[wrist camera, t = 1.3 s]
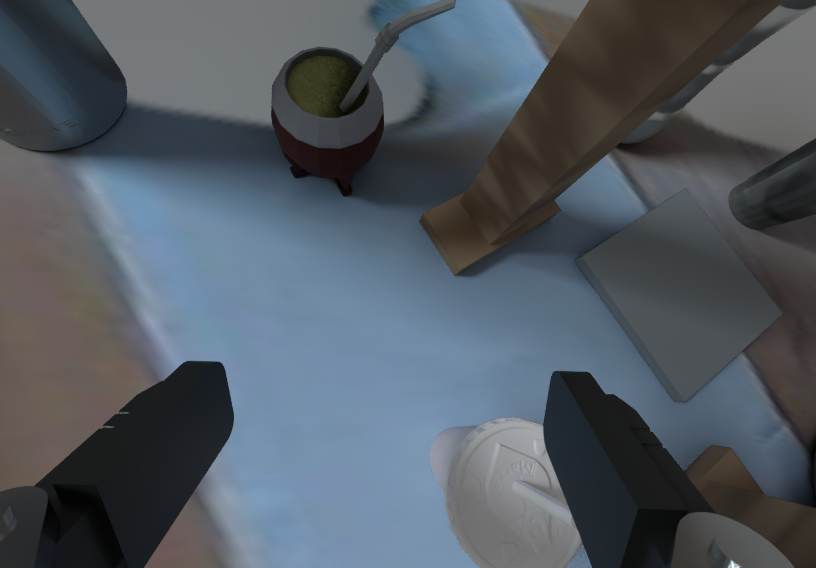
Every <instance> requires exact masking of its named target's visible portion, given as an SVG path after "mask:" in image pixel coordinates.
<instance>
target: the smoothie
mask: <svg viewBox="0 0 816 568" xmlns="http://www.w3.org/2000/svg"><path fill="white" fill-rule="evenodd" d="M430 465H431V468H432V471H433V473H434V475H435V477H436V480H437V482H438V484H439V486H440V489H441V491H442V493H443V495H444V498H445V510H446V514H447V517H448V521H449V525H450V528H451V531H452V533H453V534H454V536H455V538H456V540H457V542H458V543H459V545H460V547H461V549H462V550H463V551H464V552H465V553H466V554H467V555H468V556H469V557H470V558H471V559H472V560H473V561H474V562H475V563H476V564H477V565H478V566H479V567H480V568H565V567H566V566H567V565H568V564H569V562H570V561H571V560H572V559H573V557H574V556H575V555H576V553H577V551H578V550H579V548H580V546H581V544H582V540H581V537H580V535H579V532H578V530H577V527H576V525H575V522H574V520H573V517H572V515H571V512H570V509H569V507H568V504H567V502H566V499H565V497H564V494H563V492H562V489H561V487H560V484H559V481H558V479H557V476H556V474H555V471H554V469H553V466H552V464H551V461H550V459H549V456H548V453H547V451H546V447H545V443H544V435H543V426H542V425H540V424H537V423H534V422H532V421H528V420H524V419H520V418H517V417H514V418H498V419H495V420H492V421H489V422H486V423H483V424H482V425H480V426H470V427H455V428H449V429H446V430H444V431H443V432H441V433H440V434H439V435H438V436H437V437H436V438H435V440H434V442H433V444H432V446H431V449H430Z"/></svg>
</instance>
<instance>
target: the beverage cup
mask: <svg viewBox="0 0 816 568" xmlns="http://www.w3.org/2000/svg"><path fill="white" fill-rule="evenodd" d="M729 205H730V208H731V210H732V213H733V214H734V216H735V217H736V218H737V220H738V221H739V222H741V223H742V224H743V225H745V226H747V227H749V228H751V229H763V228H765V227H768V226H773V225H777V224H783V223H786V222H790V221H793V220H797V219H800V218H804V217H807V216H811V215H814V214H816V138H815V139H814V140H812V141H810V142H809V143H807V144H805V145H804V146H802V147H800V148H799V149H797V150H795V151H794V152H792V153H790V154H789V155H787V156H785V157H784V158H782V159H780V160H779V161H777V162H775V163H774V164H772V165H770V166H769V167H767V168H765V169H764V170H762V171H760V172H759V173H757V174H755V175H754V176H752V177H750V178H749V179H748V180H747V181H745V182H744V183H742V184H741V185H739V186H737V187H735V188H734V189H732V191H731V193H730V195H729Z"/></svg>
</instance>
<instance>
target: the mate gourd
mask: <svg viewBox="0 0 816 568" xmlns="http://www.w3.org/2000/svg"><path fill="white" fill-rule="evenodd" d="M455 1H456V0H441V1H438V2H435V3H432V4H429V5H426V6H423V7H420V8H417V9H414V10H411V11H409V12H408V13H406V14H404V15H403V16H401V17H399V18H397V19H396V20H395V21H394V22H393V23H392V24H390V23H388V24H387V25H386V26H385V27H384V28H383V29H382V31H381V32H380V33H379V35H378V36H377V38H376V39H375V42H376V45H375V47H374V48H373V50H372V52H371V54H370V55H369V57H368V59H367V61H366V63H365V64H364V65H363V64H362V63H361V62H360V61H359V60H357V59H356V58H355V57H354V56H353V55H350V54H348V53H346V52H343V51H341V50H339V49H335V48H326V47H316V48H311V49H307V50H303V51H301V52H299V53H298V54H296V55H295V56H294V57H292V58H291V59H289V60H288V61H287V62H286V63H285V64H284V65H283V67H282V69H281V71H280V73H279V74H278V76H277V78H276V79H275V81H274V83H273V85H272V110H271V117H272V124H273V127H274V130H275V133H276V135H277V138H278V141H279V144H280V146H281V149H282V152H283V154H284V156H285V157H286V159H287V160H288V161H289V162H290V163H291V165H292V167H290V169H291V172H292V174H293V175H294V177H295V178H298V177H302V176H305V175H308V174H311V173H312V174H315V175H317V176H320V177H323V178H334V180H335V182H336V184H337V186H338V188H339V190H340V192H341V194H342V195H343V196H348V195H351V193H352V189H351V186H350V183H351V181H352V179H353V176H354V174H355V173H356V172H357V171H359V170H360V169H361V168H362V167H363V166H364V165H365V164H366V163H367V162H368V161H369V160H370V159H371V157H372V156H373V154H374V152H375V150H376V148H377V146H378V143H379V141H380V139H381V136H382V133H383V130H384V115H383V114H384V113H383V101H382V92H381V91H380V89H379V87H378V85H377V83H376V81H375V79H374V77H373V76H372V73H373V71H374V70H375V68H376V66H377V65H378V63H379V61H380V60H381V58H382V57H383V55H384V53H387V52H388V51H389V50H390V49H391V47H392V46H393V45H394V43H395V42H396V41H397V40H398V39H399V34H400V33H401V32H403V31H404V30H406V29H408V28H409V27H411V26H413V25H414V24H417V23H419V22H422V21H424V20H427V19H429V18H431V17H434V16H436V15H439V14H441V13H443V12H446V11H448V10H451V9H453V8H454V7H455Z"/></svg>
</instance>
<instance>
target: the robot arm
mask: <svg viewBox="0 0 816 568" xmlns="http://www.w3.org/2000/svg"><path fill="white" fill-rule="evenodd" d="M126 99H127V87H126V81H125V78H124V76H123V74H122V72H121V70H120V68H119V67H118V66H117V64H116V63H115V61H114V60H113V58H112V57H111V56H110V54H109V53H108V51H107V50H106V49H105V47H104V46H103V44H102V43H101V42H100V40H99V39H98V37H97V36H96V35H95V33H94V31H93V30H92V29H91V27H90V26H89V24H88V23H87V21H86V20H85V18H84V17H83V16H82V14H81V13H80V11H79V10H78V8H77V7H76V6H75V4H74V3H73V1H72V0H0V139H2V140H4V141H6V142H8V143H10V144H12V145H15V146H18V147H22V148H25V149H30V150H40V151H52V150H63V149H68V148H72V147H77V146H79V145H82V144H84V143H87V142H89V141H92V140H94V139H95V138H97V137H98V136H100V135H102V134H103V133H105V132H106V131H107V130H108V129H109V128H110V127H111V126H112V125H113V124H114V123H115V122H116V121H117V119H118V118H119V116H120V115H121V113H122V112H123V109H124V106H125V104H126ZM233 422H234V412H233V407H232V402H231V397H230V392H229V387H228V382H227V377H226V372H225V368H224V366H223V364H222V363H220V362H211V361H186V362H184V363H183V364H182V365H180V366H179V367H178V368H177V369H176V370H175V371H174V372H173V373H172V374H171V375H170V376H168V377H167V378H166V379H165V380H164V381H161V382H159V383H157V384H156V385H154V386H152V387H150V388H148V389H147V390H145V391H143V392H141V393H140V394H138V395H137V396H135V397H134V398H133V399H132V400H131V401H130V402H129V403H128V404H126V405H125V406H124V407H123V408H122V409H121V410H120V411H119V414H115V415H114V416H113V417H112V418H111V419H109V420H108V421H107V422H106V423H105V424H104V425H103V428H102V429H98V430H97V431H96V432H95V433H94V434H92V435H91V436H90V437H89V438H88V439H87V440H86V441H85V442H83V443H82V444H81V445H80V446H79V447H78V448H77V449H76V450H74V451H73V452H72V453H71V454H70V455H69V456H68V457H66V458H65V459H64V460H63V461H62V462H61V463H60V464H59V465H57V466H56V467H55V468H54V469H53V470H52V471H51V472H50V473H48V474H47V475H46V476H45V477H44V478H43V479H42V480H40V481H39V482H38V483H37V484H36V485H35V486H23V487H16V488H12V489H8V490H5V491H2V492H0V568H144V567H145V565H146V564H147V562H148V560H149V559H150V557H151V556H152V554H153V553H154V551H155V550H156V548H157V547H158V545H159V544H160V542H161V541H162V539H163V538H164V536H165V535H166V533H167V532H168V530H169V529H170V527H171V526H172V524H173V522H174V521H175V519H176V518H177V516H178V515H179V513H180V512H181V510H182V509H183V507H184V506H185V504H186V503H187V501H188V500H189V498H190V497H191V495H192V494H193V492H194V491H195V489H196V487H197V486H198V484H199V483H200V481H201V480H202V478H203V477H204V475H205V474H206V472H207V471H208V469H209V468H210V466H211V465H212V463H213V462H214V460H215V459H216V457H217V456H218V454H219V453H220V451H221V449H222V448H223V446H224V445H225V443H226V442H227V440H228V439H229V437H230V434H231V431H232V428H233ZM543 435H544V443H545V447H546V451H547V453H548V456H549V459H550V461H551V464H552V466H553V469H554V471H555V474H556V476H557V479H558V481H559V484H560V487H561V489H562V492H563V494H564V497H565V499H566V502H567V504H568V507H569V509H570V512H571V515H572V517H573V520H574V522H575V525H576V527H577V530H578V532H579V535H580V537H581V540H582V543H583V545H584V548H585V550H586V553H587V555H588V558H589V560H590V563H591V565H592V568H795V567H794V566H793V565H792V564H791V563H790V561H789V560H788V559H787V558H786V557H785V556H784V555H783V554H782V553H781V552H780V551H779V550H778V549H777V548H776V547H775V546H774V545H773V544H771V543H770V542H769V541H768V540H766V539H765V538H764V537H762V536H761V535H760V534H758V533H757V532H755V531H753V530H752V529H750V528H748V527H747V526H745V525H743V524H741V523H739V522H737V521H735V520H732V519H730V518H727V517H724V516H721V515H718V514H716V512H715V511H714V510H713V509H712V507H711V506H710V505H709V503H708V502H707V501H706V500H705V498H704V497H703V496H702V494H701V493H700V492H699V491H698V489H697V488H696V487H695V486H694V484H693V483H692V482H691V480H690V479H689V478H688V477H687V475H686V474H685V473H684V471H683V470H682V469H681V468H680V466H679V465H678V464H677V463H676V461H675V460H674V459H673V457H672V456H671V455H670V454H669V452H668V451H667V450H666V448H663V447H662V443H661V442H660V441H659V440H658V438H657V437H656V436H655V434H654V433H653V432H650V428H649V427H648V425H647V424H646V423H645V422H644V420H643V419H642V418H641V417H640V415H639V414H638V413H637V411H636V410H635V409H633V408H632V407H631V406H629V405H628V404H626V403H625V402H624V401H622V400H621V399H620V398H618V397H617V396H615V395H613V394H605V393H604V392H603V390H602V389H601V387H600V386H599V385H598V383H597V382H596V380H595V379H594V378H593V376H592V375H591V374H590V373H589V372H573V371H555V372H553V374H552V376H551V380H550V386H549V392H548V399H547V405H546V411H545V417H544V424H543Z"/></svg>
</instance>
